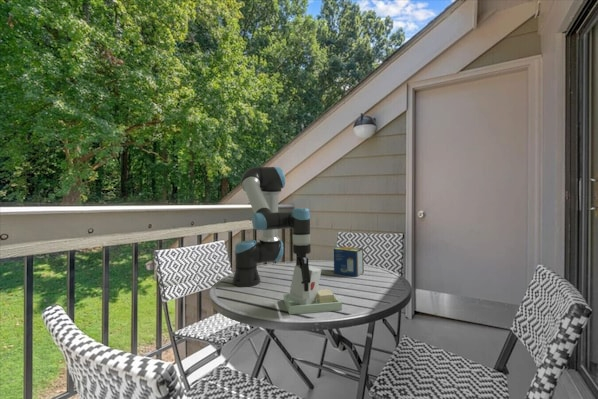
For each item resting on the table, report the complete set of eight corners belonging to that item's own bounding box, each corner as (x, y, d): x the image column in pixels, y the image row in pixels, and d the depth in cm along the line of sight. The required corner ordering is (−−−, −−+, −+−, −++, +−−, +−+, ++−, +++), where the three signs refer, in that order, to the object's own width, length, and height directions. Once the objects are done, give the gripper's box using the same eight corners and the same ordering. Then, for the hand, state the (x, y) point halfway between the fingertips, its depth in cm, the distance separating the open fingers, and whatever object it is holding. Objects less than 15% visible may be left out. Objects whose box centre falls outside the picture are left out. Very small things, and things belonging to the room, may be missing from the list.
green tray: (283, 302, 142) (283, 293, 142) (330, 298, 146) (330, 290, 146) (289, 316, 125) (289, 306, 125) (341, 312, 129) (341, 302, 129)
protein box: (341, 270, 200) (341, 246, 200) (363, 273, 191) (363, 248, 191) (333, 273, 192) (333, 248, 192) (356, 277, 183) (356, 250, 183)
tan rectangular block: (315, 301, 140) (315, 290, 140) (328, 300, 141) (328, 289, 141) (320, 307, 132) (320, 295, 132) (334, 306, 133) (333, 294, 133)
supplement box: (305, 306, 128) (312, 270, 129) (287, 300, 133) (294, 265, 133) (316, 303, 136) (322, 269, 136) (298, 296, 141) (304, 263, 141)
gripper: (317, 247, 123) (318, 302, 123) (304, 239, 147) (305, 285, 147) (298, 249, 122) (299, 304, 122) (288, 240, 146) (289, 286, 146)
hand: (302, 293), depth 135 cm, fingers closed on supplement box, 12 cm apart
